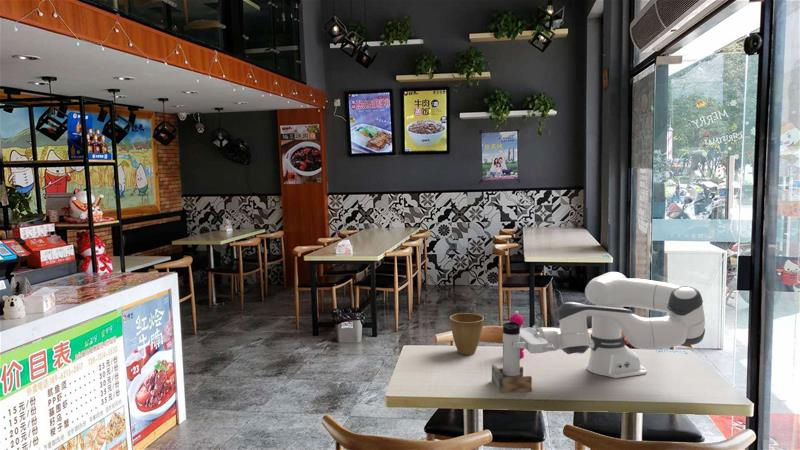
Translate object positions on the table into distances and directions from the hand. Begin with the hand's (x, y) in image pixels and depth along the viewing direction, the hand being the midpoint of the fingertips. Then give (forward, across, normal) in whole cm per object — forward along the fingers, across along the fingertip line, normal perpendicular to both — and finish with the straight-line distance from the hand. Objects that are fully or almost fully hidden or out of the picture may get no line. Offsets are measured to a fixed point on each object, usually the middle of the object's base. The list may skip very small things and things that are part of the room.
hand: (509, 341), depth 225 cm
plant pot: (+5, +42, -17) cm, 46 cm away
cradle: (-1, 0, -17) cm, 17 cm away
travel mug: (-1, 0, -13) cm, 13 cm away
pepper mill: (-14, +33, -17) cm, 40 cm away
